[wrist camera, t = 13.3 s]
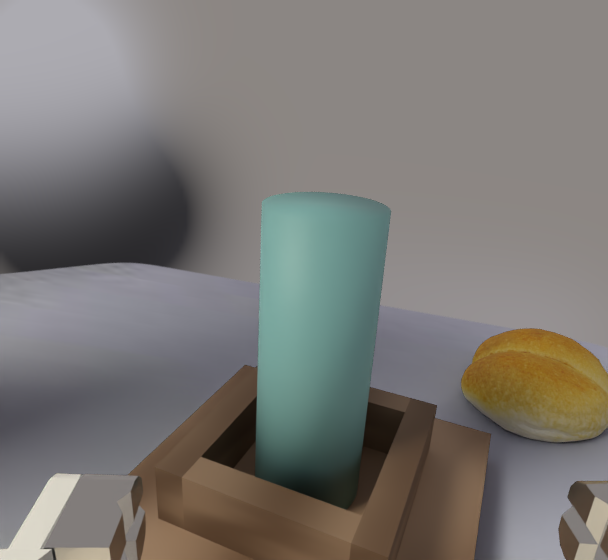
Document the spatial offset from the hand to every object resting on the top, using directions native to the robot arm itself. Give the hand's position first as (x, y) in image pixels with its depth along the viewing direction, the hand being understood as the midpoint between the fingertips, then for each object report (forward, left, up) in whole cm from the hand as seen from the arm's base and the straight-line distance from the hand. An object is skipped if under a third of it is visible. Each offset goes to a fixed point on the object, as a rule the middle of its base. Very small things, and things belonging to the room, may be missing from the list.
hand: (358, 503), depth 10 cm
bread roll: (+5, +23, -11) cm, 26 cm away
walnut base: (-4, +9, -10) cm, 14 cm away
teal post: (-4, +9, -9) cm, 13 cm away
